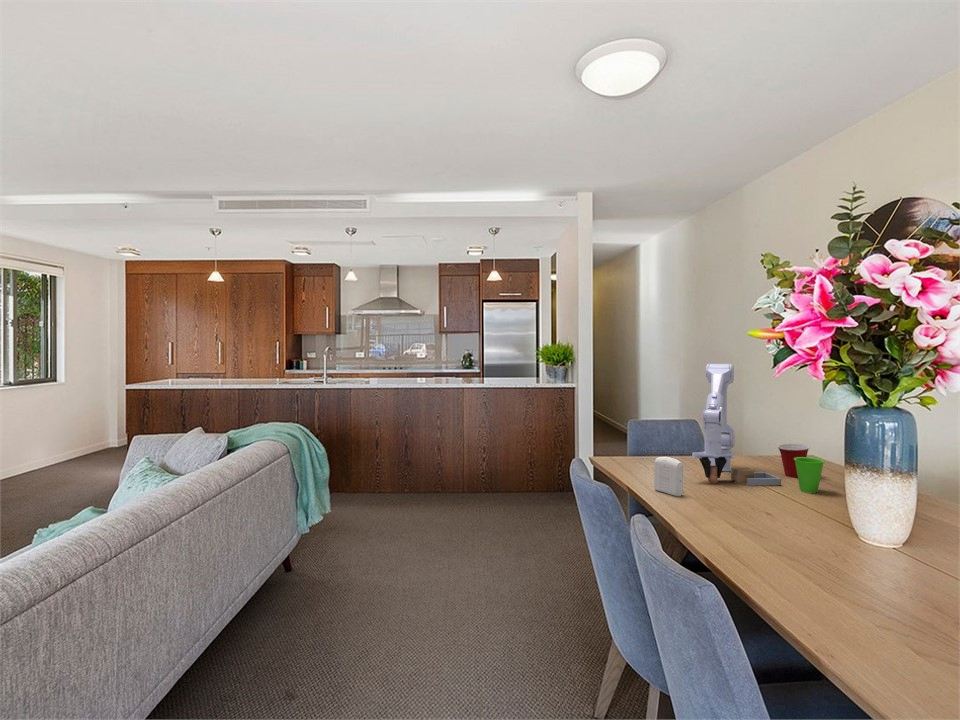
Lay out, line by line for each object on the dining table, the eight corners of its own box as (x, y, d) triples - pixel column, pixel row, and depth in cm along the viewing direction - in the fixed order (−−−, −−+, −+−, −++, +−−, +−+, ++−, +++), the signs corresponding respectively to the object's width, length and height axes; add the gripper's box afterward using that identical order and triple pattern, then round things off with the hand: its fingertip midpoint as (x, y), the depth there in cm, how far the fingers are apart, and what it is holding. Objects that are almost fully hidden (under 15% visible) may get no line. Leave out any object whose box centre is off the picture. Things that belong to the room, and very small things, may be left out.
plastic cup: (771, 472, 203) (771, 442, 203) (799, 472, 203) (799, 442, 203) (786, 479, 192) (786, 448, 192) (815, 479, 192) (816, 448, 192)
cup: (830, 494, 172) (830, 462, 172) (803, 494, 172) (803, 462, 172) (813, 487, 181) (813, 457, 181) (788, 487, 181) (788, 457, 181)
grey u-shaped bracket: (734, 478, 194) (734, 472, 194) (766, 478, 194) (766, 472, 194) (748, 485, 184) (748, 479, 184) (781, 485, 184) (781, 478, 184)
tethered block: (705, 480, 192) (705, 464, 192) (747, 480, 192) (747, 464, 191) (711, 484, 187) (711, 467, 187) (754, 483, 187) (754, 467, 186)
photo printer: (685, 495, 173) (685, 459, 173) (677, 497, 171) (677, 460, 171) (660, 488, 182) (660, 454, 182) (652, 490, 180) (652, 455, 180)
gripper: (697, 443, 185) (697, 480, 185) (737, 443, 185) (737, 480, 185) (690, 439, 192) (689, 475, 192) (728, 439, 192) (728, 475, 192)
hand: (712, 477), depth 189 cm, fingers closed on tethered block, 3 cm apart
